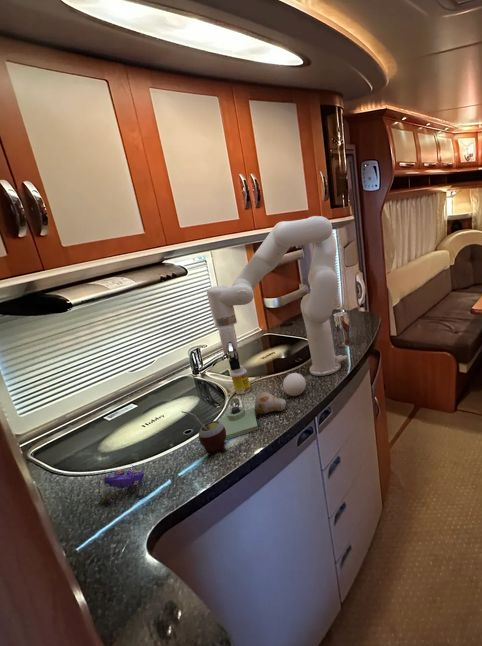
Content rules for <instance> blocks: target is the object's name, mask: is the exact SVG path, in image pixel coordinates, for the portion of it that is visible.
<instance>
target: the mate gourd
mask: <svg viewBox="0 0 482 646" xmlns="http://www.w3.org/2000/svg"><path fill="white" fill-rule="evenodd" d="M181 413H182V414H186V415H189V416H191V417H192V418H193V419H194V420H196V422H197V423H198V424H199V425H200V426H201V427H200V428H199V430H198V439H199V443H200V444H201V446H202V447H203V448H204V450H205V451H206V453H207V457H208V458H211V457H212V456H213V455H214V454H216V453H217V452H220V453H226V451H227V449H226V448H225V445H226V430H225V427H224V426H223V424H221V423H220V422H219V420H212V421H208V422H206V423H204V424H203V422H201V420H200V419H199V418H198V417H197V415H196V414H195V413H193V412H190V411H183V410H181Z"/></svg>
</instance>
